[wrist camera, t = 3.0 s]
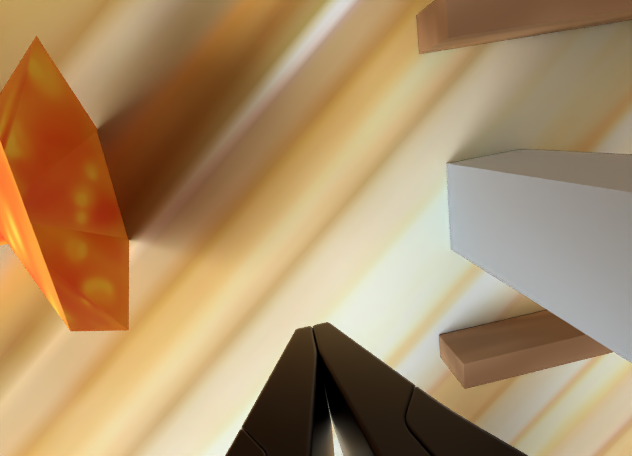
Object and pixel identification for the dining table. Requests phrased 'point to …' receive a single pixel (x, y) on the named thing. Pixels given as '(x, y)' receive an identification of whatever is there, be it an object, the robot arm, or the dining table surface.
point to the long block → (552, 233)
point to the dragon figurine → (61, 198)
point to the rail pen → (541, 327)
